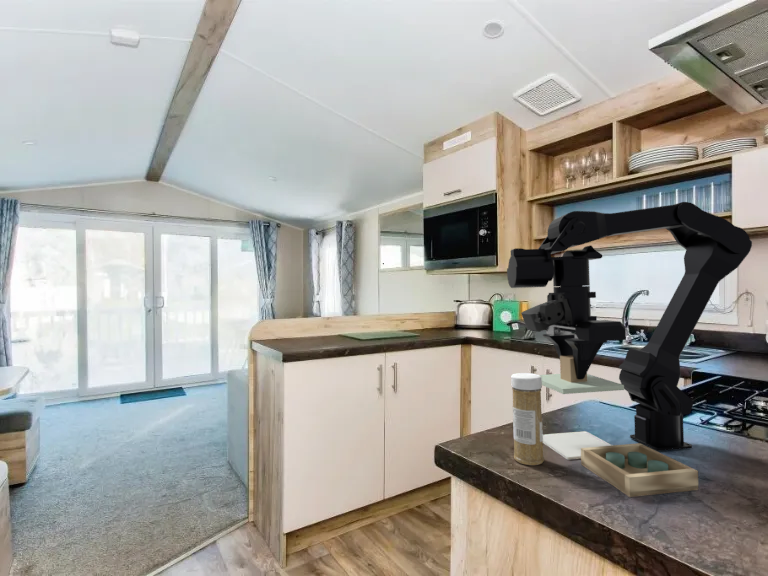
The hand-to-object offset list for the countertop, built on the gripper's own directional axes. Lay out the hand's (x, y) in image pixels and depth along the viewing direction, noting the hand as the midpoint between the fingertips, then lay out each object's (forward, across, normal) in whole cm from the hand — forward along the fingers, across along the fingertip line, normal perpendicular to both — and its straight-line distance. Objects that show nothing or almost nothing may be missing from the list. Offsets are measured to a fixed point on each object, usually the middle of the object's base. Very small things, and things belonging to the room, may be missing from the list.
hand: (574, 377), depth 70 cm
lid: (+1, 0, 0) cm, 1 cm away
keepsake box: (+12, +12, +1) cm, 17 cm away
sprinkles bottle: (+12, +4, -11) cm, 17 cm away
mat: (+12, 0, 0) cm, 12 cm away
